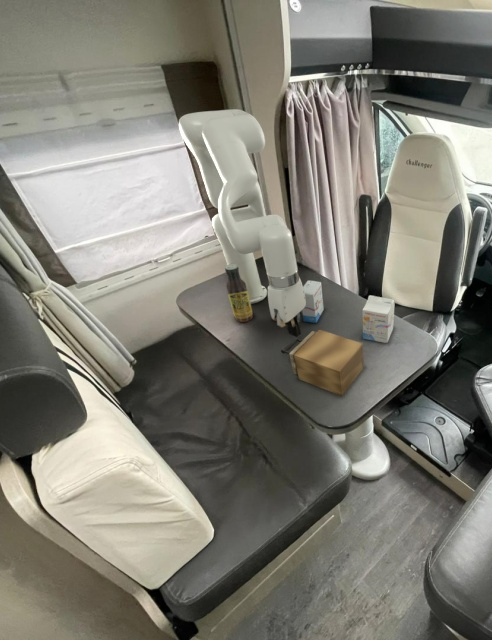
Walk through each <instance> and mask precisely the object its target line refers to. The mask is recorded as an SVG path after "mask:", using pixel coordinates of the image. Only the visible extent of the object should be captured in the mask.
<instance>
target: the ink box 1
mask: <svg viewBox="0 0 492 640" xmlns="http://www.w3.org/2000/svg"><path fill="white" fill-rule="evenodd" d="M303 289H304V293H305V299H306V306H305V307H304V309H303V310H302V311H301V313H302V319H303V322H306V323H315V324H316V323H318V322H319V321H318V320H319V319H320V317H321V316H322V314H323V311H325V310H324V309H325V308H324V299H323V298H324V297H323V288H322V282H321V281H315V280H307V281H306V282H305V284H304V285H303Z"/></svg>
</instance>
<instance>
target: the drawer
mask: <svg viewBox="0 0 492 640" xmlns="http://www.w3.org/2000/svg"><path fill="white" fill-rule="evenodd" d="M316 332H317V331H313V330H312V331H310V332H309V334H308V335H307V336H306V337H304V339H300V338H299V336H298V337H295V336H294V337H293V338H292V339H291V340H290V341H289V342H288V343H287V344H285V346H284V347H283V348H282V349H280V353H281V354H283V355H285V354H286V355H289V359H290V364H291V368H292V373H293V374H294V375H298V372H297V367H296V363H295V358H294V354H295V353H296V352H297V351H298V350H299V349H300V348H301V347H302V346H303V345H304V344H305V343H306V342H307V341H308V340H309V339H310V338H311V337H312V336H313V335H314V334H315V333H316ZM297 342H299V344H297ZM295 344H297V345H296V346H295V347H294V348H293V349H292V350H291V351H289V350H290V349H291V348H292V347H293V346H294V345H295Z"/></svg>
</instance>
